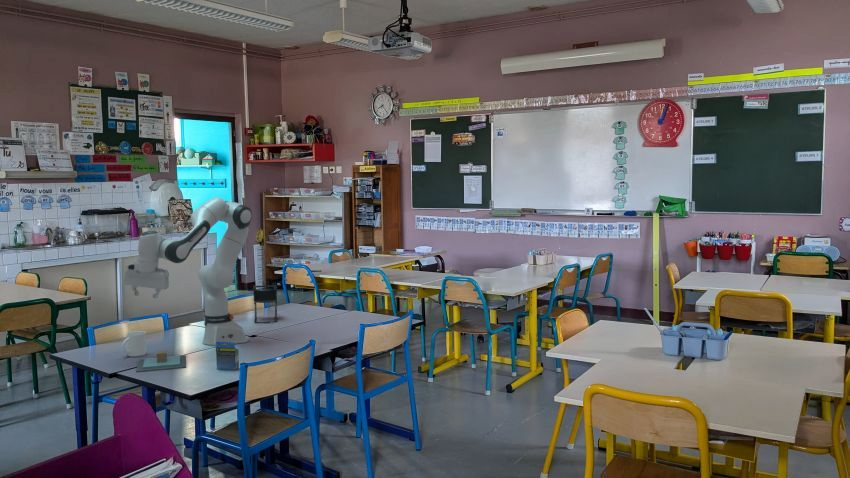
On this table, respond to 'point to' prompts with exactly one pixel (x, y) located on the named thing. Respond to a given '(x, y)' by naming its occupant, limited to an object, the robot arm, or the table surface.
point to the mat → (141, 362)
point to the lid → (161, 361)
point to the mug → (135, 344)
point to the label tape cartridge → (227, 356)
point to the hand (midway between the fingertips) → (145, 296)
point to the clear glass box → (265, 299)
